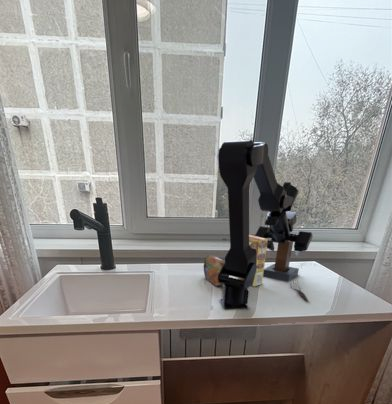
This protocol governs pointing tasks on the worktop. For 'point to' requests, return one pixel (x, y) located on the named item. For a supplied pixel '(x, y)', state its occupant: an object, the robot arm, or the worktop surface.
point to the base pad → (280, 273)
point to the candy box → (258, 257)
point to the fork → (298, 289)
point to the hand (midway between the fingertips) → (285, 252)
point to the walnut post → (283, 256)
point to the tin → (213, 269)
